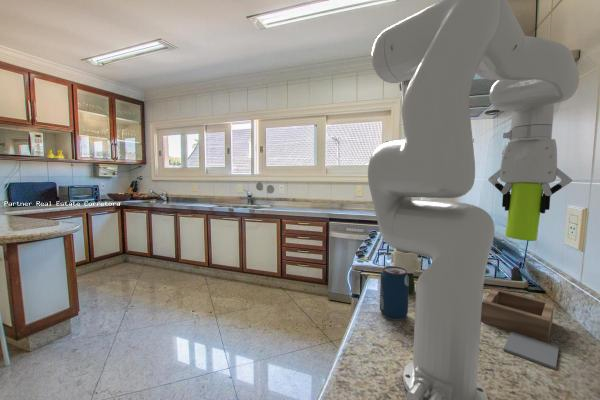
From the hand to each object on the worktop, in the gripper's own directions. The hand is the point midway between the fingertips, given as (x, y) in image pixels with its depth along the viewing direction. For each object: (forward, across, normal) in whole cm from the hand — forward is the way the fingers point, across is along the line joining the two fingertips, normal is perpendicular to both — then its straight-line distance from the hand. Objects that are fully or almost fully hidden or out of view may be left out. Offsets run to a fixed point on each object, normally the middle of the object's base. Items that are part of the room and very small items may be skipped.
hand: (524, 210), depth 66 cm
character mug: (+28, -28, -2) cm, 40 cm away
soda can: (+28, -23, -18) cm, 41 cm away
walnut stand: (+28, 0, 0) cm, 28 cm away
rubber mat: (+28, +4, -12) cm, 31 cm away
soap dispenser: (+7, 0, 0) cm, 7 cm away
